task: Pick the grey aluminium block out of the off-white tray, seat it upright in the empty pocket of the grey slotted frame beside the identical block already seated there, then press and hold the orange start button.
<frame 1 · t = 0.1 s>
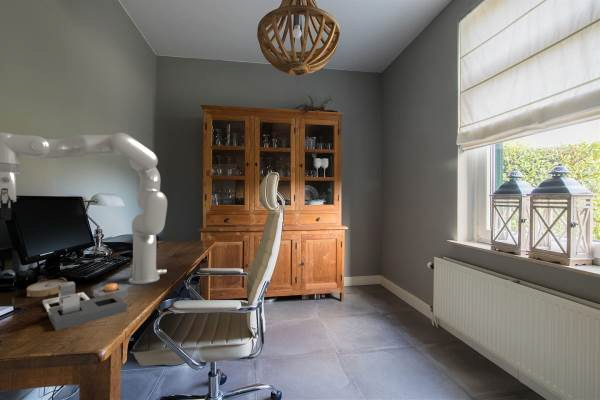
hand: (3, 219, 93), 31 cm above the table, tool pointing down, fingers open, 9 cm apart
button cap: (110, 287, 105), point 4 cm above the table, slide at 0.0 cm
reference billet: (70, 318, 86), resting on grey slotted frame
grey slotted frame: (88, 315, 89), on the table
tray: (66, 304, 98), on the table
button housing: (110, 297, 105), on the table
billet: (66, 302, 98), resting on tray
alarm clock: (48, 292, 111), on the table
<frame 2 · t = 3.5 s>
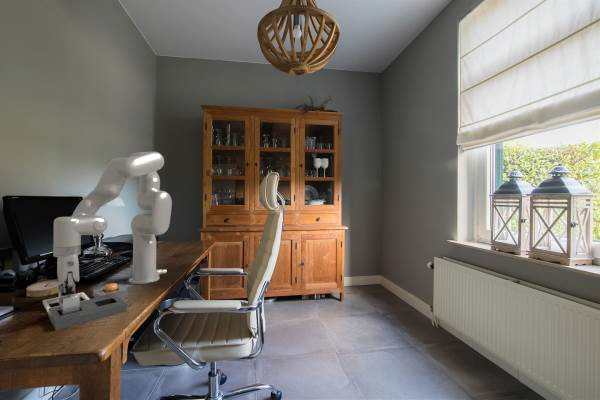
hand: (66, 300, 98), 1 cm above the table, tool pointing down, fingers closed on billet, 4 cm apart
billet: (66, 302, 98), resting on tray, touching gripper
everything else where it was.
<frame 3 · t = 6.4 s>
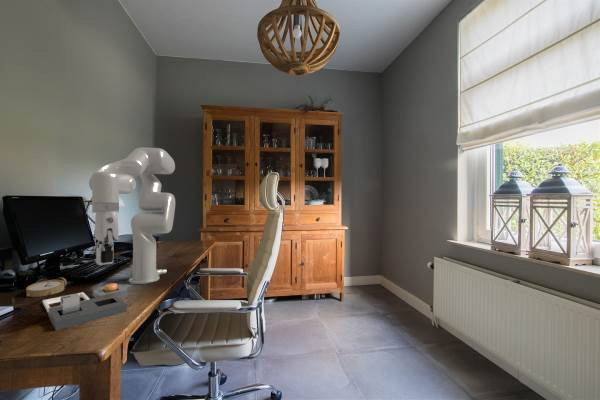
hand: (105, 260, 93), 17 cm above the table, tool pointing down, fingers closed on billet, 4 cm apart
billet: (104, 263, 93), point 16 cm above the table, touching gripper
everything else where it was.
when the fingers open (3 cm above the table, at t = 9.5 s): billet stays where it is, resting on grey slotted frame.
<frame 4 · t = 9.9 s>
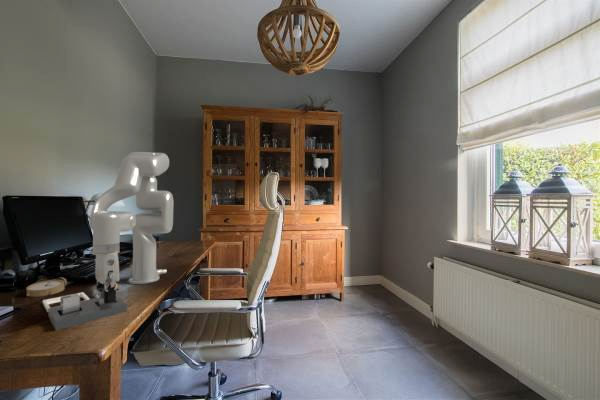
hand: (105, 298, 93), 4 cm above the table, tool pointing down, fingers open, 8 cm apart
billet: (105, 309, 93), resting on grey slotted frame
everything else where it was.
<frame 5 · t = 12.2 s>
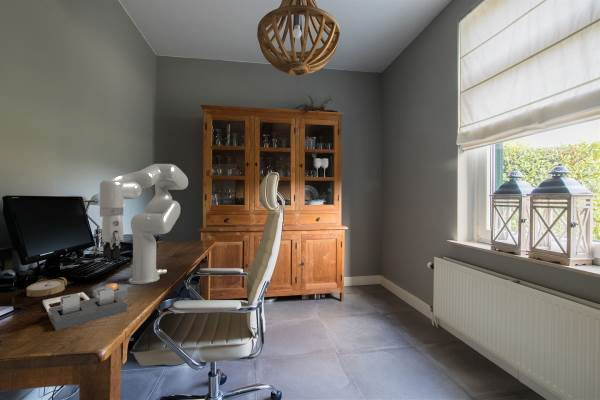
hand: (111, 257, 105), 16 cm above the table, tool pointing down, fingers open, 7 cm apart
nothing on the table moved.
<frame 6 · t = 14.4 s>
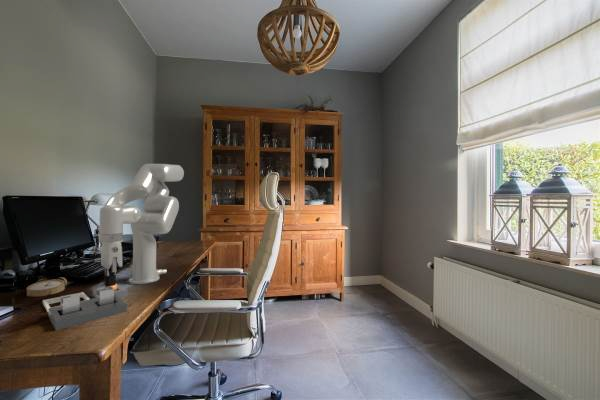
hand: (110, 285, 105), 5 cm above the table, tool pointing down, fingers closed
button cap: (110, 288, 105), point 4 cm above the table, slide at 0.1 cm, touching gripper
everything else where it was.
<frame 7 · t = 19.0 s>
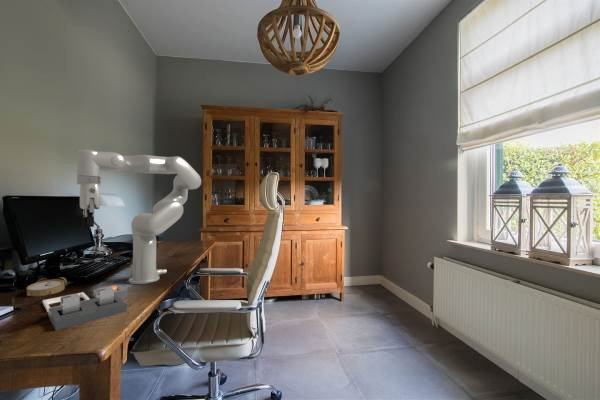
hand: (88, 226, 108), 27 cm above the table, tool pointing down, fingers closed
button cap: (110, 290, 105), point 3 cm above the table, slide at 0.8 cm
everything else where it was.
at the end: billet 0.3 cm from the target spot on the grey slotted frame, point 0.5 cm above the grey slotted frame's base; billet tilted 0°; button cap slide at 0.8 cm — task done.
